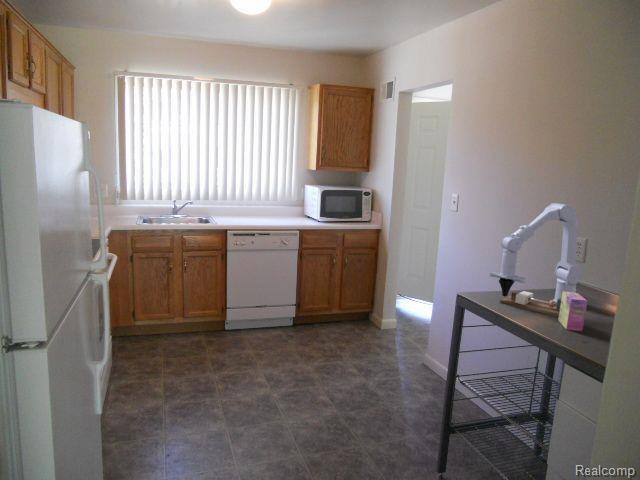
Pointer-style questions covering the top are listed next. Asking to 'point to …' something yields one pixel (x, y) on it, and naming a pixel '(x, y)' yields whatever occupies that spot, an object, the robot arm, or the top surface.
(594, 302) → the top surface
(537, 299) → the guide rod
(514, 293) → the guide board
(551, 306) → the stop band
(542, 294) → the top surface
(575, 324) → the box
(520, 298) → the sleeve
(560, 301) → the end block
